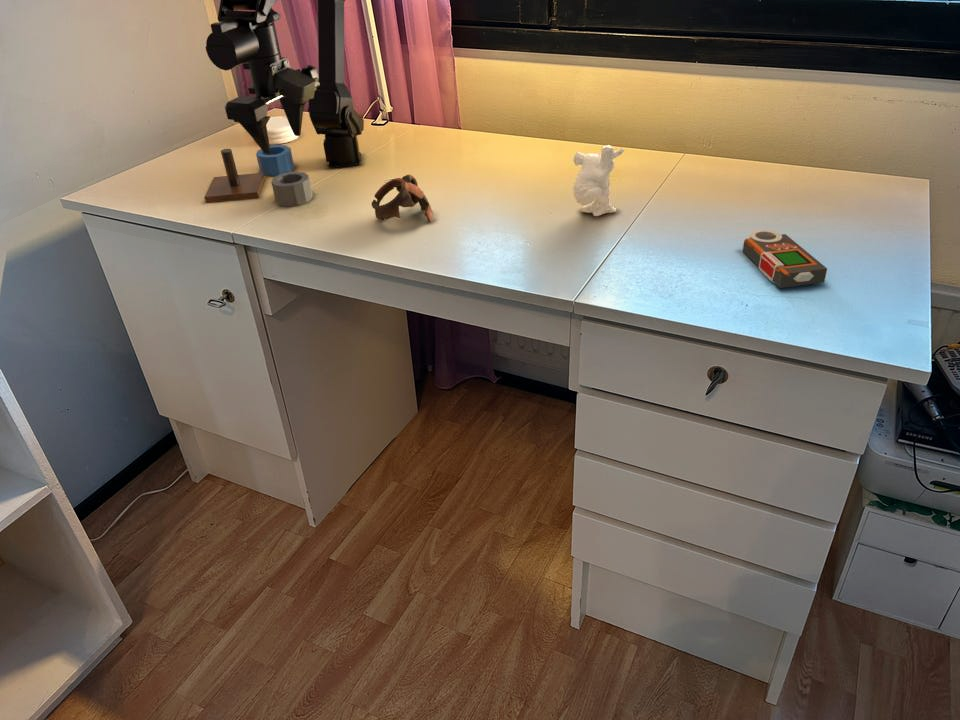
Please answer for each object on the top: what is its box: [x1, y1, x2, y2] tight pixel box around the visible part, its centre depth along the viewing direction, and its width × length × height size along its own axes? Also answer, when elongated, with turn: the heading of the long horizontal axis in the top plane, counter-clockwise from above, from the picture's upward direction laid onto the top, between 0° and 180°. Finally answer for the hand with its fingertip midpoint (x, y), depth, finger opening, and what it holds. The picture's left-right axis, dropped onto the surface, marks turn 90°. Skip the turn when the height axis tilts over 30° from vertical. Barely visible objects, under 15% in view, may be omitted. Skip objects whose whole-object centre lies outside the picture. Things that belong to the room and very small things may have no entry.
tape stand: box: [203, 148, 266, 204], centre depth 141 cm, size 10×10×8 cm
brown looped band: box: [371, 174, 434, 223], centre depth 128 cm, size 12×10×8 cm
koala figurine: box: [572, 144, 625, 217], centre depth 124 cm, size 8×7×12 cm
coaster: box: [266, 115, 300, 146], centre depth 166 cm, size 10×10×4 cm
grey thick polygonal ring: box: [270, 171, 314, 207], centre depth 138 cm, size 7×7×4 cm
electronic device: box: [742, 229, 828, 289], centre depth 109 cm, size 7×3×15 cm
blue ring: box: [255, 144, 295, 177], centre depth 150 cm, size 7×7×4 cm
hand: (282, 144), depth 133 cm, fingers open, 9 cm apart
